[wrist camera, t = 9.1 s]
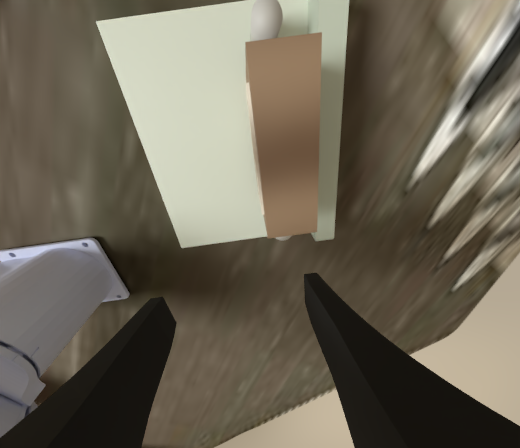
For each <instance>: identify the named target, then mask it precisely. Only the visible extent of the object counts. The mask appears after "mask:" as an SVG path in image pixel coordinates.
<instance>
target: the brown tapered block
mask: <svg viewBox="0 0 520 448" xmlns="http://www.w3.org/2000/svg"><path fill="white" fill-rule="evenodd" d="M321 54H322V32H319V33H312V34H304V35H296V36H288V37H281V38H273V39H265V40H258V41H250V42H245V58H246V99H247V107H248V115H249V123H250V131H251V139H252V147H253V155H254V163H255V171H256V179H257V187H258V195H259V201H260V206H261V212H262V215H263V216H264V221H265V226H266V231H267V237H268V239H269V238H276V237H284V236H291V235H299V234H306V233H313V232H317V218H318V177H319V136H320V95H321Z"/></svg>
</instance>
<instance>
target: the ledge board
mask: <svg viewBox="0 0 520 448" xmlns="http://www.w3.org/2000/svg"><path fill="white" fill-rule="evenodd" d="M348 11H349V0H246V1H239V2H232V3H225V4H218V5H210V6H203V7H196V8H189V9H182V10H174V11H167V12H160V13H153V14H146V15H139V16H131V17H124V18H117V19H110V20H103V21H96V23H97V26H98V29H99V31H100V34H101V37H102V39H103V42H104V45H105V47H106V50H107V52H108V55H109V58H110V60H111V63H112V66H113V68H114V71H115V74H116V76H117V79H118V82H119V84H120V87H121V89H122V92H123V95H124V97H125V100H126V103H127V105H128V108H129V111H130V113H131V116H132V119H133V121H134V124H135V127H136V129H137V132H138V134H139V137H140V140H141V142H142V145H143V148H144V150H145V153H146V156H147V158H148V161H149V164H150V166H151V169H152V172H153V174H154V177H155V179H156V182H157V185H158V187H159V190H160V193H161V195H162V198H163V201H164V203H165V206H166V209H167V211H168V214H169V216H170V219H171V222H172V224H173V227H174V230H175V232H176V235H177V238H178V240H179V243H180V246H181V248H187V247H194V246H201V245H208V244H215V243H222V242H229V241H236V240H244V239H251V238H258V237H265V236H267V231H266V226H265V221H264V216H263V215H262V212H261V206H260V201H259V195H258V187H257V179H256V171H255V163H254V155H253V147H252V139H251V131H250V123H249V115H248V107H247V99H246V58H245V42H250V41H258V40H265V39H273V38H281V37H288V36H296V35H304V34H312V33H319V32H322V54H321V95H320V136H319V177H318V218H317V232H313V233H311V234H312V236H313V238H314V239H315V241H323V240H330V239H334V230H335V215H336V199H337V183H338V168H339V152H340V136H341V121H342V105H343V89H344V74H345V58H346V42H347V27H348ZM291 236H292V235H291ZM291 236H284V237H276V238H277V239H278V240H287V239H289V238H290V237H291Z"/></svg>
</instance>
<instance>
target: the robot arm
mask: <svg viewBox="0 0 520 448" xmlns="http://www.w3.org/2000/svg"><path fill="white" fill-rule="evenodd" d="M86 243H87V244H86ZM0 261H1V263H0V448H141V446H142V442H143V438H144V434H145V430H146V426H147V422H148V418H149V414H150V411H151V407H152V404H153V401H154V398H155V395H156V392H157V389H158V386H159V383H160V380H161V377H162V374H163V371H164V368H165V365H166V362H167V359H168V356H169V353H170V350H171V346H172V342H173V338H174V333H175V328H176V321H175V319H174V317H173V315H172V314H171V312H170V310H169V308H168V306H167V304H166V302H165V300H164V298H163V297H158V298H152V299H150V300H149V301H148V302H147V303H146V304H145V305H144V306H143V307H142V308H141V309H140V310H139V311H138V312H137V313H136V314H135V315H134V316H133V317H132V318H131V319H130V320H129V321H128V322H127V324H126V325H125V326H124V327H123V328H122V329H121V330H120V331H119V332H118V333H117V334H116V335H115V336H114V337H113V338H112V339H111V340H110V341H109V342H108V343H107V344H106V345H105V346H104V347H103V348H102V349H101V350H100V351H99V352H98V353H97V354H96V355H95V356H94V357H93V358H92V359H91V360H90V361H89V362H88V363H87V364H86V365H85V366H84V367H82V368H81V369H80V370H79V371H78V372H77V373H76V374H75V375H74V376H73V377H72V378H71V379H69V380H68V381H67V382H66V383H65V384H64V385H63V386H62V387H60V388H59V389H58V390H57V391H56V392H55V393H54V394H52V395H51V396H50V397H49V398H48V399H47V400H46V401H44V402H43V403H42V404H41V405H40V406H37V404H36V403H35V402H34V400H35V399H36V398H37V396H38V395H39V394H40V393H41V391H42V390H43V389H44V387H45V386H46V384H44V383H43V382H41V381H40V380H39V378H40V377H41V376H42V375H43V373H44V372H45V371H46V370H47V368H48V367H49V366H50V365H51V364H52V362H53V361H54V360H55V359H56V357H57V356H58V355H59V354H60V353H61V351H62V350H63V349H64V348H65V346H66V345H67V344H68V343H69V342H70V340H71V339H72V338H73V337H74V335H75V334H76V333H77V332H78V331H79V329H80V328H81V327H82V326H83V324H84V323H85V322H86V321H87V320H88V318H89V317H90V316H91V315H92V313H93V312H94V311H95V310H96V309H97V307H98V306H99V305H100V304H101V302H106V301H113V300H120V299H126V298H128V297H129V295H130V293H129V292H128V290H127V288H126V287H125V285H124V283H123V282H122V280H121V278H120V277H119V275H118V274H117V272H116V270H115V269H114V267H113V265H112V264H111V262H110V260H109V259H108V257H107V255H106V254H105V252H104V251H103V249H102V247H101V246H100V244H99V242H98V241H97V240H96V239H94V238H85V239H78V240H70V241H63V242H56V243H49V244H42V245H35V246H28V247H20V248H13V249H6V250H1V251H0ZM304 286H305V304H306V307H307V311H308V314H309V318H310V321H311V324H312V327H313V329H314V332H315V334H316V337H317V339H318V342H319V344H320V347H321V349H322V352H323V354H324V357H325V359H326V362H327V364H328V367H329V369H330V372H331V374H332V377H333V380H334V383H335V385H336V389H337V392H338V395H339V398H340V401H341V404H342V408H343V411H344V414H345V417H346V421H347V424H348V427H349V430H350V434H351V437H352V440H353V443H354V447H355V448H520V426H519V425H517V424H515V423H513V422H512V421H510V420H508V419H507V418H505V417H503V416H502V415H500V414H498V413H497V412H495V411H493V410H491V409H490V408H488V407H486V406H485V405H483V404H482V403H480V402H478V401H477V400H475V399H473V398H472V397H470V396H469V395H467V394H466V393H464V392H462V391H461V390H459V389H458V388H456V387H455V386H453V385H452V384H450V383H448V382H447V381H445V380H444V379H442V378H441V377H440V376H438V375H437V374H435V373H434V372H432V371H431V370H429V369H428V368H426V367H425V366H424V365H422V364H421V363H419V362H418V361H416V360H415V359H413V358H412V357H411V356H409V355H408V354H406V353H405V352H404V351H402V350H401V349H400V348H398V347H397V346H396V345H394V344H393V343H392V342H390V341H389V340H388V339H387V338H385V337H384V336H383V335H382V334H380V333H379V332H378V331H377V330H375V329H374V328H373V327H372V326H371V325H369V324H368V323H367V322H366V321H365V320H364V319H363V318H361V317H360V316H359V315H358V314H357V313H356V312H355V311H354V310H352V309H351V308H350V307H349V306H348V305H347V304H346V303H345V302H344V301H343V300H342V299H341V298H340V297H339V296H338V295H337V294H336V293H335V292H334V291H333V290H332V289H331V288H330V287H329V286H328V285H327V284H326V282H325V281H324V280H323V279H322V278H321V277H320V276H319V275H318V274H317V273H311V274H304Z"/></svg>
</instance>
